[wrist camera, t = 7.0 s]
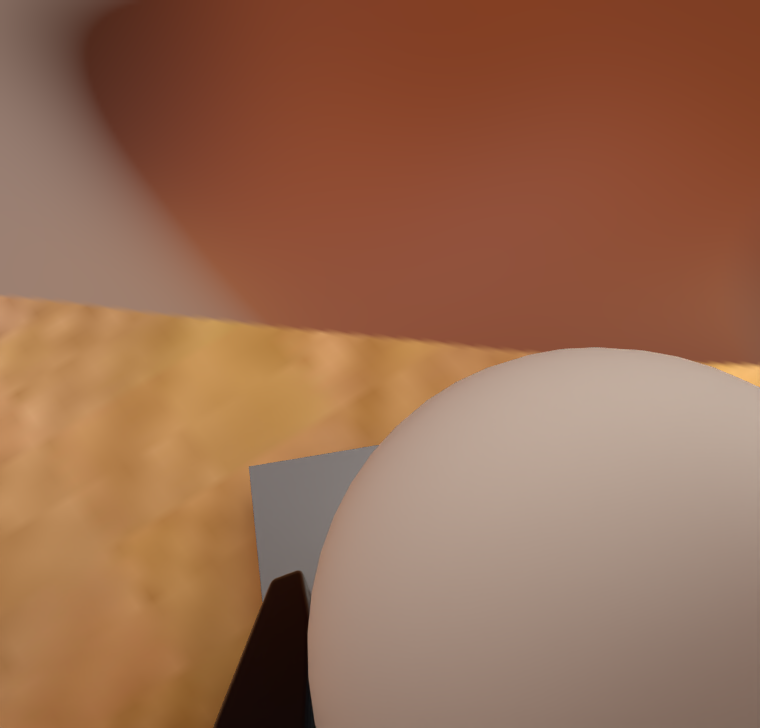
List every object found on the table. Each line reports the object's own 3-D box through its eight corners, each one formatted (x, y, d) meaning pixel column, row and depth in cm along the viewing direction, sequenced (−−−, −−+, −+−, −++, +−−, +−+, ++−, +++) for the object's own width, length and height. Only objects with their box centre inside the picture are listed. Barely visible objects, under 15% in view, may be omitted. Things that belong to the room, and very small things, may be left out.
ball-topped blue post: (524, 777, 13) (1511, 1645, 2) (321, 716, 14) (93, 1119, 2) (555, 565, 15) (1170, 326, 4) (375, 515, 15) (402, 155, 4)
